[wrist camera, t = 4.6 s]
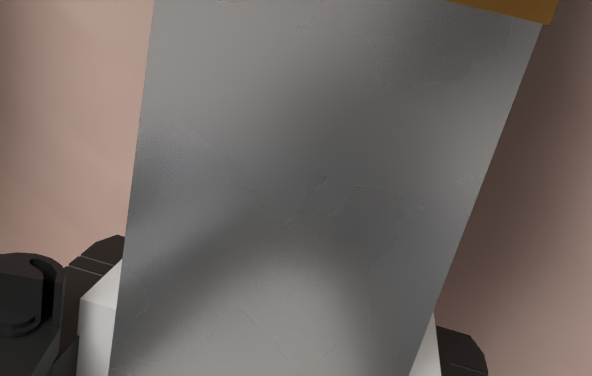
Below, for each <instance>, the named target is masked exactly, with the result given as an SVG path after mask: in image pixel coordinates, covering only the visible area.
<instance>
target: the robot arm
mask: <svg viewBox="0 0 592 376" xmlns="http://www.w3.org/2000/svg"><path fill="white" fill-rule="evenodd" d="M124 242H125V237H123V236H120V235H115V236H112V237H109V238H106V239H104V240H101V241H98V242H95V243H94V244H93V245H92V246H90V247H89V248H88V249H87V250H86V251H84V252H83V253H82V254H81V256H80V257H79V256H78V257H77V258H76V259H74V260H73V261H72V262H71V263H69V266H68V267H67V266H66V267H65V268H63V267H62V265H61V264H59V263H58V262H56V261H55V260H53V259H52V258H49V257H45V256H42V255H39V254H32V253H19V252H18V253H9V254H0V376H108V371H109V363H110V355H111V347H112V339H113V331H114V323H115V315H116V306H117V298H118V290H119V282H120V274H121V266H122V258H123V250H124ZM409 376H488V369H487V365H486V361H485V357H484V354H483V352H482V351H481V350H480V348H479V347H478V346H477V344H476V343H475V342H474V340H473V339H472V338H471V336H470V335H466V334H463V333H459V332H456V331H453V330H449V329H446V328H442V327H439V326H435V318H434V311H433V314H432V316H431V319H430V322H429V324H428V327H427V329H426V332H425V335H424V337H423V340H422V343H421V345H420V348H419V350H418V353H417V356H416V358H415V361H414V363H413V366H412V369H411V371H410V374H409Z"/></svg>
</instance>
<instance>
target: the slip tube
mask: <svg viewBox="0 0 592 376" xmlns="http://www.w3.org/2000/svg"><path fill="white" fill-rule="evenodd" d="M558 2H559V0H154V8H153V16H152V24H151V32H150V41H149V49H148V57H147V65H146V73H145V81H144V89H143V97H142V105H141V113H140V121H139V129H138V137H137V145H136V153H135V161H134V169H133V178H132V186H131V194H130V202H129V210H128V218H127V226H126V234H125V242H124V250H123V258H122V266H121V274H120V282H119V290H118V298H117V306H116V315H115V323H114V331H113V339H112V347H111V355H110V363H109V371H108V376H409V374H410V371H411V369H412V366H413V363H414V361H415V358H416V356H417V353H418V350H419V348H420V345H421V343H422V340H423V337H424V335H425V332H426V329H427V327H428V324H429V322H430V319H431V316H432V314H433V311H434V308H435V306H436V303H437V301H438V298H439V295H440V293H441V290H442V288H443V285H444V282H445V280H446V277H447V274H448V272H449V269H450V267H451V264H452V261H453V259H454V256H455V253H456V251H457V248H458V246H459V243H460V240H461V238H462V235H463V233H464V230H465V227H466V225H467V222H468V219H469V217H470V214H471V212H472V209H473V206H474V204H475V201H476V198H477V196H478V193H479V191H480V188H481V185H482V183H483V180H484V178H485V175H486V172H487V170H488V167H489V164H490V162H491V159H492V157H493V154H494V151H495V149H496V146H497V143H498V141H499V138H500V136H501V133H502V130H503V128H504V125H505V123H506V120H507V117H508V115H509V112H510V109H511V107H512V104H513V102H514V99H515V96H516V94H517V91H518V88H519V86H520V83H521V81H522V78H523V75H524V73H525V70H526V68H527V65H528V62H529V60H530V57H531V54H532V52H533V49H534V47H535V44H536V41H537V39H538V36H539V33H540V31H541V28H542V26H543V24H544V25H550V23H551V20H552V18H553V15H554V13H555V10H556V7H557V5H558Z"/></svg>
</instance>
